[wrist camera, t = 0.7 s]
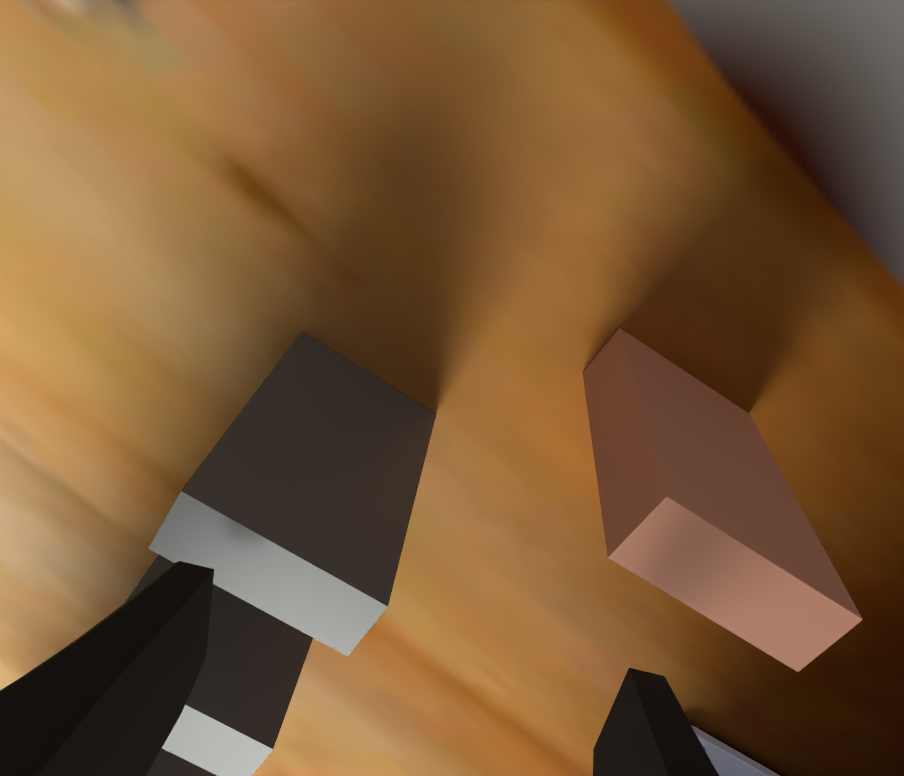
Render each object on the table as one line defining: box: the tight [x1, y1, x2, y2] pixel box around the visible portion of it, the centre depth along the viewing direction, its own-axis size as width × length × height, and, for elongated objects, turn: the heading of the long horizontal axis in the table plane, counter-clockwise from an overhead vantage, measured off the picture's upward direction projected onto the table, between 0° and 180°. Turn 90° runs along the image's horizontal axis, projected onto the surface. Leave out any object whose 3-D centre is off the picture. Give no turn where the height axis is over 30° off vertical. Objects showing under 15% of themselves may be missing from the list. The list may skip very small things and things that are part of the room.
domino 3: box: [583, 327, 863, 672], centre depth 17 cm, size 4×2×8 cm, turn 58°
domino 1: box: [148, 332, 436, 656], centre depth 18 cm, size 4×2×8 cm, turn 57°
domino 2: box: [124, 555, 313, 776], centre depth 20 cm, size 4×2×8 cm, turn 58°
